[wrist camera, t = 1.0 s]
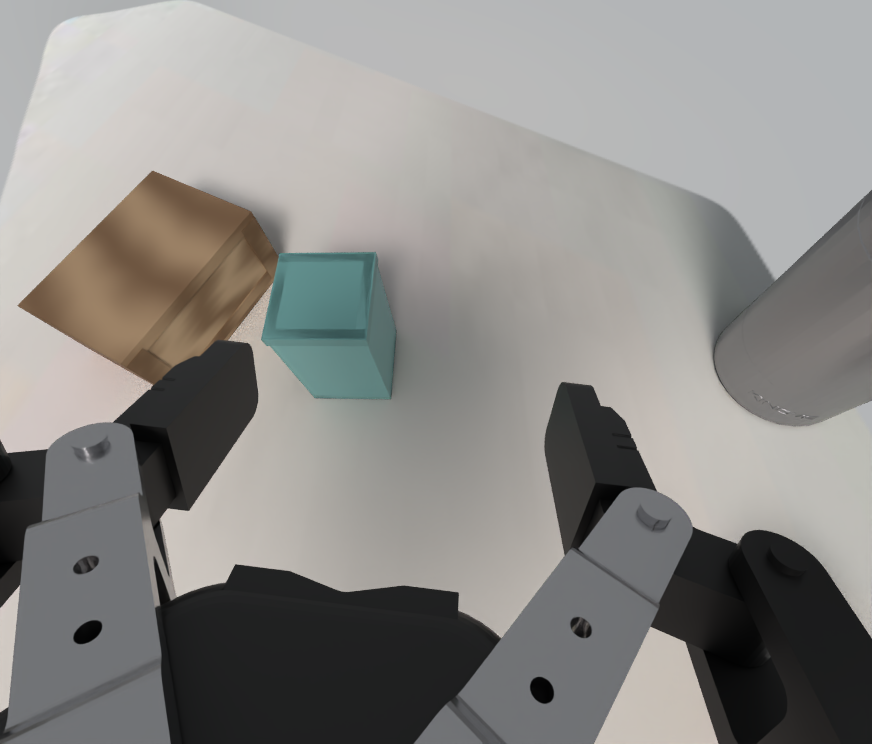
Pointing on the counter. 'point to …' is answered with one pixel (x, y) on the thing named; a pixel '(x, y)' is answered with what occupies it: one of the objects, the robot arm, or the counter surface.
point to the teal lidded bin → (333, 324)
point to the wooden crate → (159, 278)
